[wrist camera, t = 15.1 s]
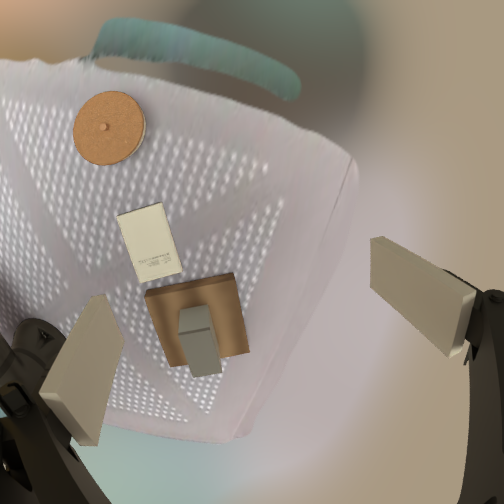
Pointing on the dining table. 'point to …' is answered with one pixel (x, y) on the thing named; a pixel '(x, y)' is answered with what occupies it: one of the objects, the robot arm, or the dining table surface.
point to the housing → (199, 341)
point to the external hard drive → (150, 242)
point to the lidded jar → (109, 128)
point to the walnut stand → (192, 295)
